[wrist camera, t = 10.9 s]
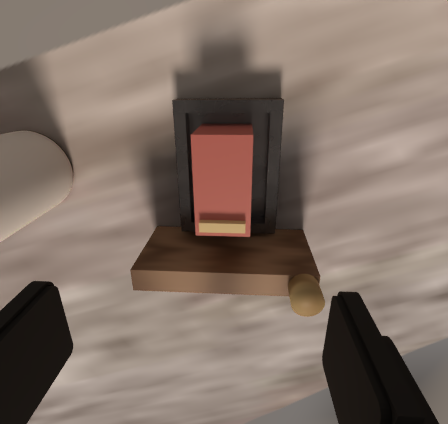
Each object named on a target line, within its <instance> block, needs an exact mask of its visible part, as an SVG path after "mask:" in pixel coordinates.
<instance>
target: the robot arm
mask: <svg viewBox="0 0 448 424" xmlns="http://www.w3.org/2000/svg"><path fill="white" fill-rule="evenodd" d="M72 350H73V342H72V338H71V334H70V331H69V327H68V323H67V320H66V316H65V312H64V309H63V305H62V301H61V298H60V294H59V290H58V288H57V287H56V286H54V284H53V283H52V282H46V281H33V282H31V283H30V284H28V285H27V286H26V287H25V288H24V289H23V290H22V291H21V292H20V293H19V294H18V295H17V296H16V297H15V298H13V299H12V300H11V301H10V302H9V303H8V304H7V305H6V306H5V307H4V308H3V309H2V310H1V311H0V424H27V422H28V421H29V419H30V418H31V416H32V415H33V413H34V411H35V410H36V408H37V407H38V405H39V404H40V402H41V401H42V399H43V397H44V396H45V394H46V393H47V391H48V390H49V388H50V386H51V385H52V383H53V382H54V380H55V379H56V377H57V376H58V374H59V372H60V371H61V369H62V368H63V366H64V365H65V363H66V361H67V360H68V358H69V357H70V355H71V353H72ZM322 361H323V368H324V372H325V375H326V379H327V383H328V386H329V390H330V394H331V397H332V401H333V405H334V408H335V412H336V415H337V419H338V423H339V424H439V423H438V421H437V419H436V417H435V415H434V414H433V412H432V411H431V408H430V407H429V405H428V403H427V401H426V400H425V398H424V396H423V394H422V393H421V391H420V389H419V387H418V385H417V384H416V382H415V380H414V378H413V377H412V375H411V373H410V371H409V370H408V368H407V366H406V364H405V362H404V361H403V359H402V357H401V355H400V354H399V352H398V350H397V348H396V346H395V345H394V343H393V341H392V340H391V339H390V338H389V337H388V336H381V334H380V332H379V330H378V328H377V326H376V324H375V322H374V321H373V319H372V317H371V315H370V313H369V311H368V309H367V308H366V306H365V304H364V302H363V300H362V298H361V296H360V295H359V293H357V292H339V293H338V295H337V296H333V297H332V301H331V307H330V313H329V319H328V325H327V331H326V337H325V343H324V350H323V356H322Z"/></svg>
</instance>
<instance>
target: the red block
mask: <svg viewBox="0 0 448 424" xmlns="http://www.w3.org/2000/svg"><path fill="white" fill-rule="evenodd" d="M191 152H192V172H193V192H194V212H195V232H196V235H199V236H237V237H250V226H251V194H252V161H253V128H252V124H201V125H200V126H199V127H198V128H197V129H196V130H195V131H194V132H193V133H192V134H191Z"/></svg>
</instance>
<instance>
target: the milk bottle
mask: <svg viewBox="0 0 448 424" xmlns="http://www.w3.org/2000/svg"><path fill="white" fill-rule="evenodd" d="M72 183H73V171H72V166H71V164H70V161H69V159H68V158H67V156H66V154H65V153H64V151H63V150H62V149H61V148H60V147H59V146H58V145H57V144H56V143H55V142H54V141H52V140H50V139H49V138H47V137H46V136H43V135H41V134H39V133H36V132H32V131H15V132H9V133H4V134H0V242H1V241H3V240H4V239H6V238H7V237H9V236H11V235H12V234H14V233H15V232H17V231H18V230H20V229H22V228H23V227H25V226H26V225H28V224H29V223H31V222H32V221H34V220H35V219H37V218H38V217H40V216H41V215H43V214H44V213H46V212H47V211H49V210H51V209H52V208H54V207H55V206H57V205H58V204H59V203H61V202H62V201H63V200H64V199H65V198H66V197H67V196H68V194H69V193H70V190H71V188H72Z"/></svg>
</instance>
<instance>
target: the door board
mask: <svg viewBox="0 0 448 424" xmlns="http://www.w3.org/2000/svg"><path fill="white" fill-rule="evenodd" d="M130 271H131V277H132V284H133V290H142V291H167V292H193V293H219V294H244V295H270V296H289V297H290V302H291V307H292V309H293V311H294V312H295V313H297V314H298V315H301V316H314V315H316V314H318V313H319V312H321V311H322V309H323V308H324V305H325V300H324V297H323V294H322V291H321V289H320V286H319V282H320V274H319V272H318V269H317V266H316V264H315V261H314V258H313V256H312V253H311V250H310V247H309V245H308V242H307V239H306V237H305V234H304V231H303V230H290V229H275V234H264V233H250V237H237V236H199V235H196V232H186V231H182V230H181V227H167V226H157V228H156V229H155V231H154V232H153V234H152V236H151V237H150V239H149V241H148V242H147V244H146V245H145V247H144V249H143V250H142V252H141V253H140V255H139V257H138V258H137V260H136V262H135V263H134V265H133V266H132V268H131V270H130Z"/></svg>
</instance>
